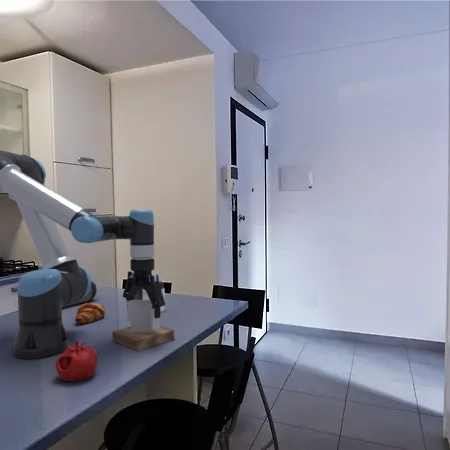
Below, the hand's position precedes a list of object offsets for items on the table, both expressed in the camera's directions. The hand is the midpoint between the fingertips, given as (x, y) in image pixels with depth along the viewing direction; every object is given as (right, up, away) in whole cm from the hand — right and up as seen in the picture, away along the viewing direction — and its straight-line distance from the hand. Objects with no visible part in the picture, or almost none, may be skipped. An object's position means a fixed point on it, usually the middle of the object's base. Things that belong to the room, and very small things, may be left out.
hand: (143, 323), depth 122 cm
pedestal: (0, -5, 0) cm, 5 cm away
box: (-13, -4, +54) cm, 56 cm away
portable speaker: (-43, -5, +49) cm, 65 cm away
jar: (-4, -4, +37) cm, 37 cm away
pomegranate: (-11, -6, -27) cm, 30 cm away
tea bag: (0, -2, 0) cm, 2 cm away
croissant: (-26, -5, +26) cm, 37 cm away
